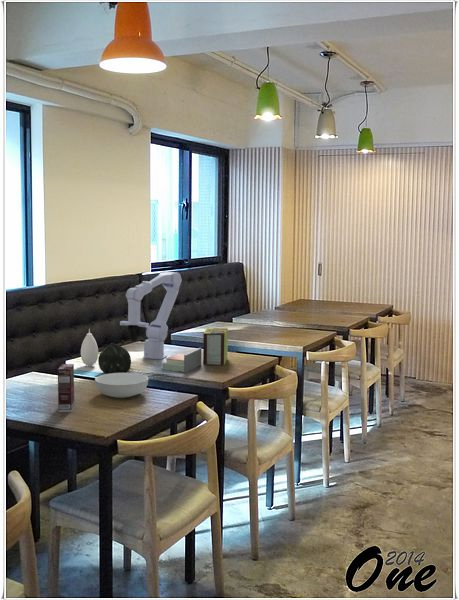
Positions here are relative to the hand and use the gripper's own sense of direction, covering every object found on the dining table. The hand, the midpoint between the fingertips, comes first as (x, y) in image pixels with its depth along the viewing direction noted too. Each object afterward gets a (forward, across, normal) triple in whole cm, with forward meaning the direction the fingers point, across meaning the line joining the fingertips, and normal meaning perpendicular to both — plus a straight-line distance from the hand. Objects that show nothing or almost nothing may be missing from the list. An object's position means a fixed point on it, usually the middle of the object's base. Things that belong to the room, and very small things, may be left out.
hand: (134, 341), depth 318 cm
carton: (+11, +25, 0) cm, 27 cm away
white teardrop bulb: (+11, -15, -16) cm, 24 cm away
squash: (+11, +3, -24) cm, 26 cm away
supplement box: (+11, +14, -79) cm, 81 cm away
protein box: (+10, +35, +18) cm, 41 cm away
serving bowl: (+11, +23, -54) cm, 59 cm away
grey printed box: (+10, +26, 0) cm, 28 cm away
